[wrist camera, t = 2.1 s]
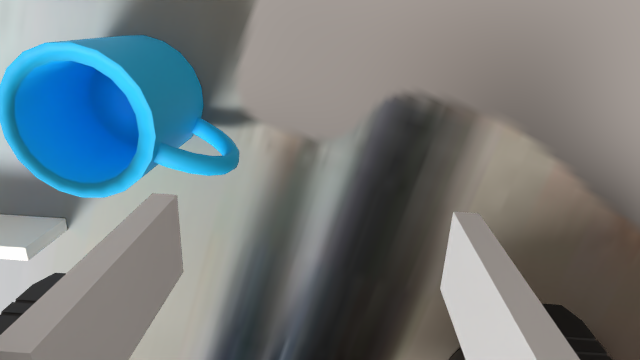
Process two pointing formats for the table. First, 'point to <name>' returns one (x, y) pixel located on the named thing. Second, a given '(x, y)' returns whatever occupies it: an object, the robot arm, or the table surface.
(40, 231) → the box
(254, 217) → the table surface
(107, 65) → the mug
